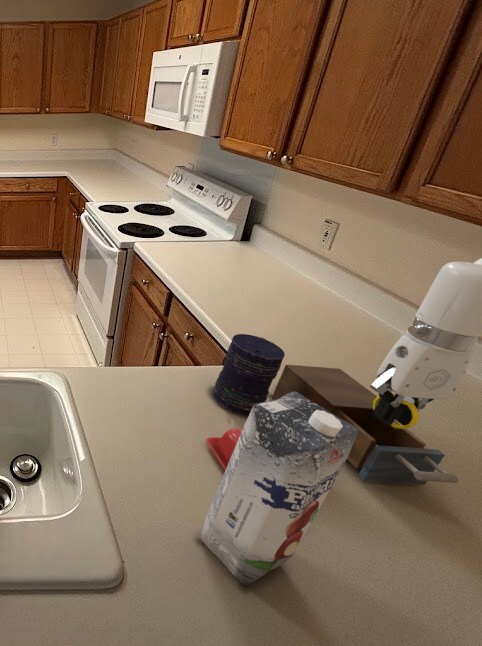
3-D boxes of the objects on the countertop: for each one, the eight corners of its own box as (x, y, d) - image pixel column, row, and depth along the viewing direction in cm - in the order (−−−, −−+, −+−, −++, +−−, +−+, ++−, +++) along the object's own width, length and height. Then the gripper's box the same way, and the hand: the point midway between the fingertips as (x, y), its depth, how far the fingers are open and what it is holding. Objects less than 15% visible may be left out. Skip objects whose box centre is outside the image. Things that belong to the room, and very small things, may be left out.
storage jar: (214, 382, 100) (237, 317, 93) (261, 399, 95) (289, 332, 88) (209, 403, 92) (234, 334, 85) (260, 423, 87) (291, 352, 80)
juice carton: (189, 536, 62) (248, 393, 52) (234, 514, 66) (297, 377, 56) (245, 598, 55) (326, 444, 45) (292, 568, 59) (375, 421, 49)
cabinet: (375, 445, 84) (396, 410, 81) (315, 441, 84) (333, 405, 80) (324, 400, 97) (339, 368, 93) (271, 396, 96) (285, 364, 93)
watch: (365, 412, 78) (378, 386, 76) (374, 410, 79) (388, 385, 77) (403, 435, 73) (419, 408, 71) (412, 433, 74) (429, 406, 71)
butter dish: (233, 492, 70) (250, 455, 67) (201, 441, 81) (214, 407, 78) (300, 498, 70) (319, 461, 67) (259, 446, 81) (274, 412, 78)
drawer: (453, 510, 70) (477, 478, 67) (388, 505, 69) (409, 474, 67) (364, 433, 86) (380, 405, 83) (311, 429, 85) (325, 401, 83)
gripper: (415, 343, 65) (364, 432, 72) (513, 351, 65) (454, 439, 72) (373, 319, 72) (331, 403, 79) (462, 327, 72) (412, 409, 79)
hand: (390, 419), depth 75 cm, fingers closed on watch, 2 cm apart
